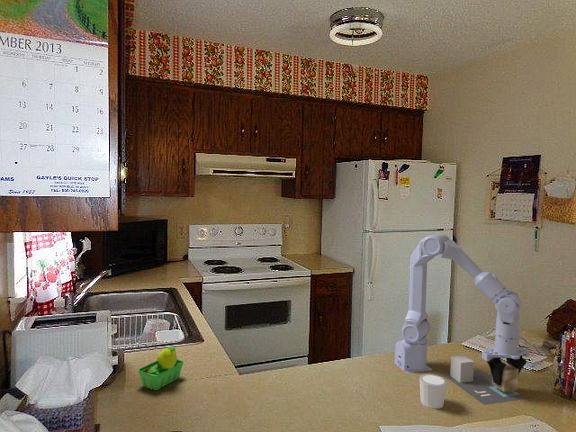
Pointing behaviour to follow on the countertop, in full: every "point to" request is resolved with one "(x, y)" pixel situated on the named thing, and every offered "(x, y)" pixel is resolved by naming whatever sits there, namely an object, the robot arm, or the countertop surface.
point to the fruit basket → (161, 370)
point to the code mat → (485, 389)
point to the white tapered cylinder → (432, 390)
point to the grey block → (462, 369)
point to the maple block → (508, 379)
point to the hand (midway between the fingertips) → (504, 382)
